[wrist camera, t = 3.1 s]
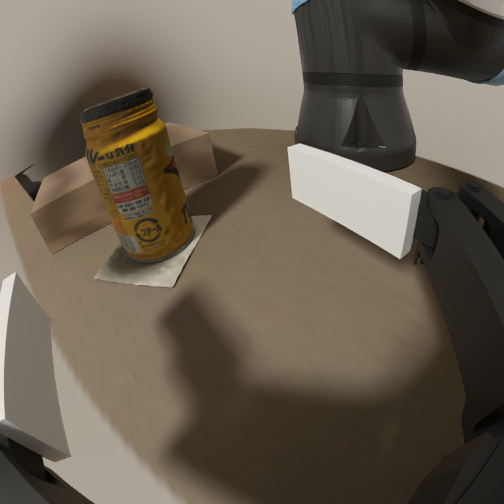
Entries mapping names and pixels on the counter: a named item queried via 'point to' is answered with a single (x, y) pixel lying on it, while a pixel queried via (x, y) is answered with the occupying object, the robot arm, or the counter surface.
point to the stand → (89, 199)
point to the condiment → (140, 191)
